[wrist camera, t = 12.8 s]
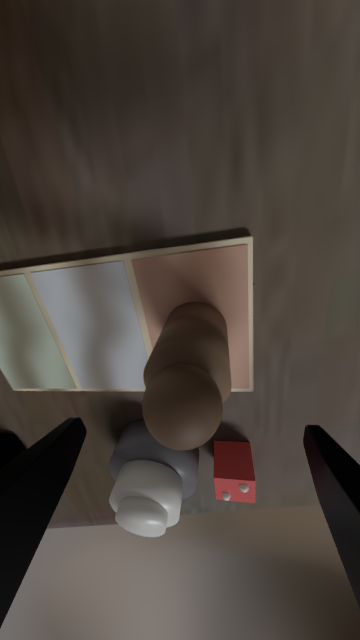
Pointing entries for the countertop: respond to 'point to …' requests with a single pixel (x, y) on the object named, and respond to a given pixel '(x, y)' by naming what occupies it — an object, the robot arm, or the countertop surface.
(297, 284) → the countertop surface
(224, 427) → the countertop surface
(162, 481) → the whipped cream
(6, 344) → the board
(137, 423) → the red and grey pieces
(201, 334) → the pawn
